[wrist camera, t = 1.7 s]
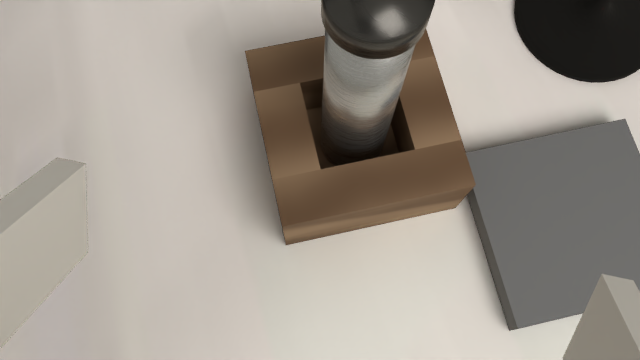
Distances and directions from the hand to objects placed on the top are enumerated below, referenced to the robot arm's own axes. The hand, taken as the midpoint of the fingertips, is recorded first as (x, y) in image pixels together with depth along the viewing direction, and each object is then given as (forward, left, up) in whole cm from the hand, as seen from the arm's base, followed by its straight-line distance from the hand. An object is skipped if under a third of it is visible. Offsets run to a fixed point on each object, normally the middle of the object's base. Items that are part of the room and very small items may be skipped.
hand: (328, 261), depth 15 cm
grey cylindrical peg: (-11, +5, -20) cm, 23 cm away
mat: (-3, +17, -21) cm, 27 cm away
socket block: (-11, +5, -21) cm, 24 cm away
